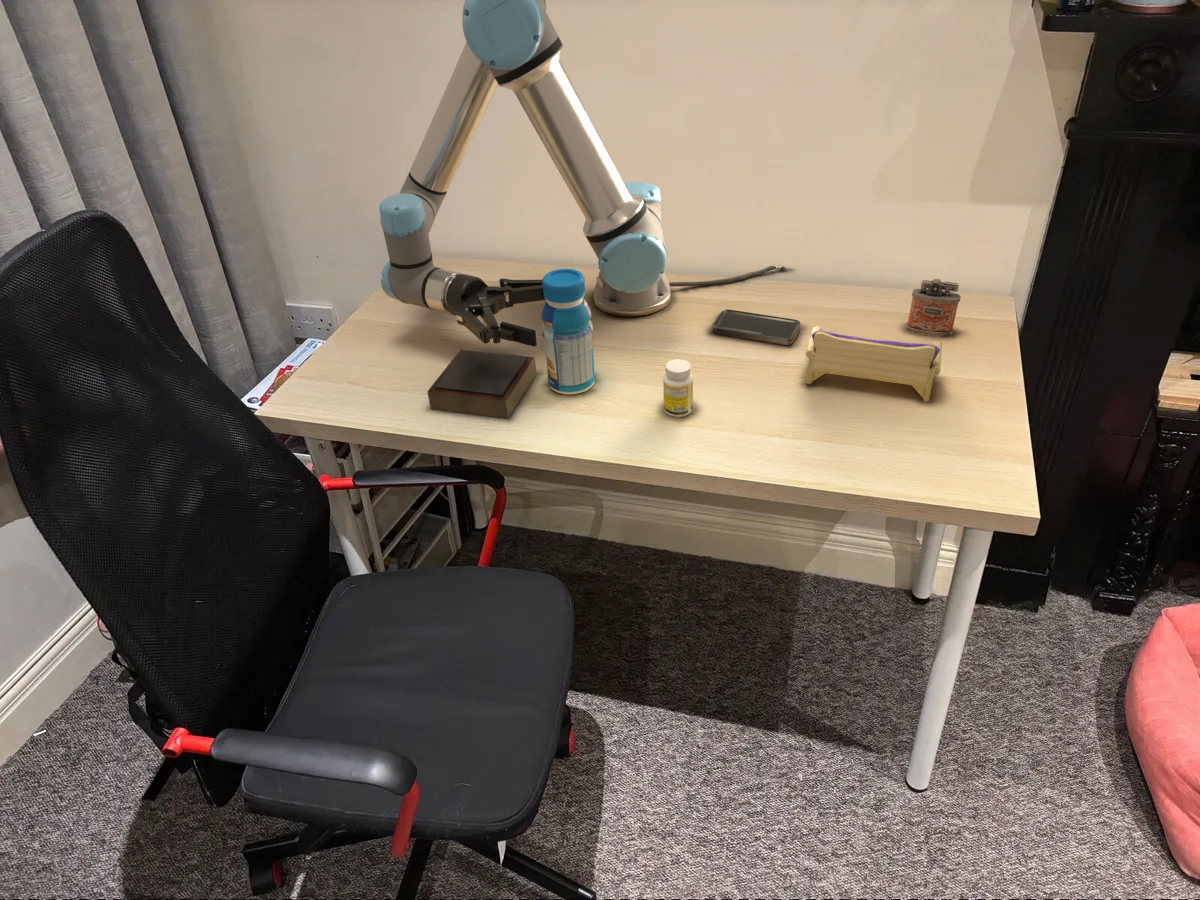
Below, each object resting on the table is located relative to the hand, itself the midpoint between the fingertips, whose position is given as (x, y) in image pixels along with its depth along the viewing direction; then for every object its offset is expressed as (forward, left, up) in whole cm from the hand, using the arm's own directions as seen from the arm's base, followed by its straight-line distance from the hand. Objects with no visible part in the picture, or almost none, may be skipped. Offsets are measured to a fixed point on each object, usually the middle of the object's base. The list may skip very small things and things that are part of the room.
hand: (558, 320), depth 142 cm
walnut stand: (+14, 0, -12) cm, 18 cm away
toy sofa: (-50, +12, -12) cm, 53 cm away
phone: (-37, -9, -12) cm, 40 cm away
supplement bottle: (-17, +13, -12) cm, 25 cm away
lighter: (-67, -1, -12) cm, 68 cm away
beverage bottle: (-1, +1, -12) cm, 12 cm away
